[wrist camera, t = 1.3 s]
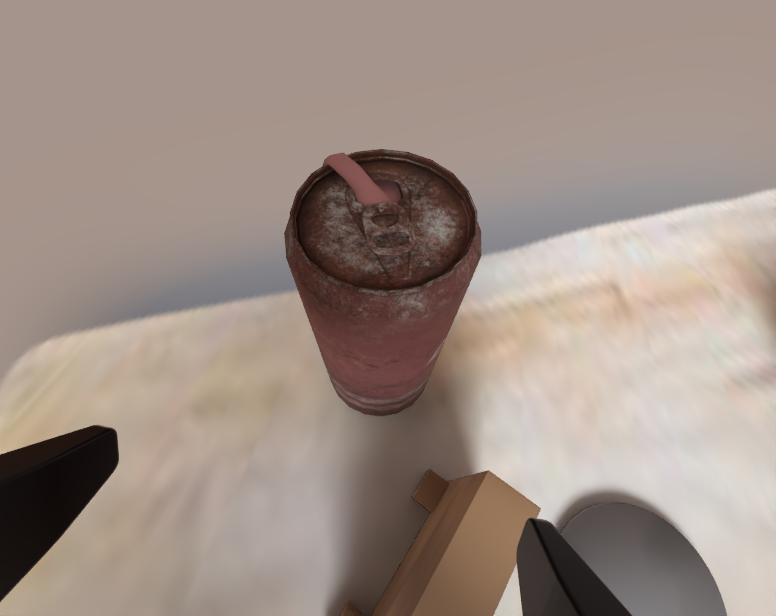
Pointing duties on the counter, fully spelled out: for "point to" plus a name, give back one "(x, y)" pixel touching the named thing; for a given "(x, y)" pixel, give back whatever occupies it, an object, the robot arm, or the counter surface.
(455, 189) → the can
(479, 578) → the screen
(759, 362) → the counter surface
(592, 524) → the coaster
